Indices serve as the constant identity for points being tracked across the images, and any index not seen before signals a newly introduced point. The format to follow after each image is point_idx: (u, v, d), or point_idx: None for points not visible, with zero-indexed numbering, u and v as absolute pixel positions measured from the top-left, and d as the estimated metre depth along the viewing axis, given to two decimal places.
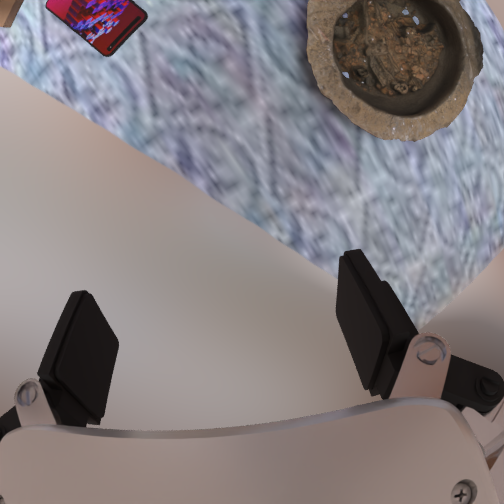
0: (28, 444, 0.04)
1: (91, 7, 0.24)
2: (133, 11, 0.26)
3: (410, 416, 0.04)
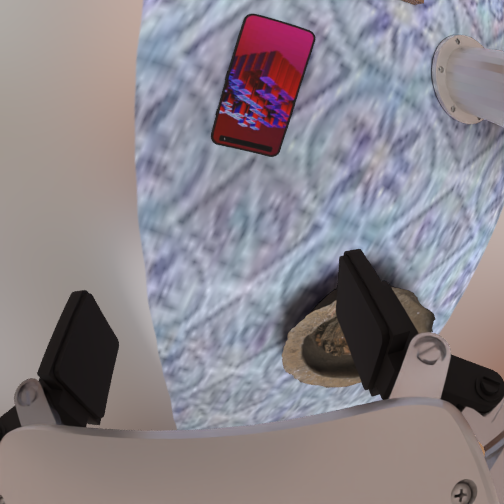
0: (28, 444, 0.04)
1: (263, 84, 0.28)
2: (274, 139, 0.31)
3: (410, 416, 0.04)
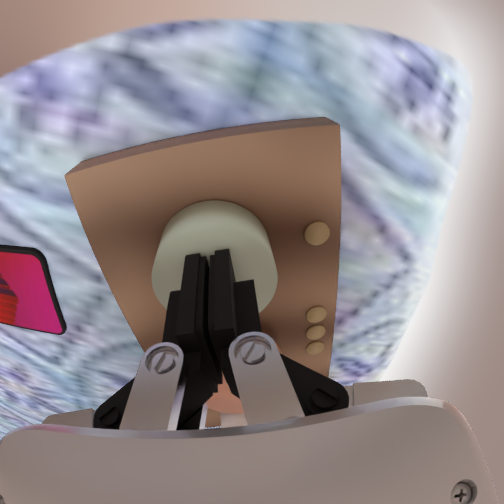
0: (29, 444, 0.04)
1: None
2: None
3: (410, 416, 0.04)
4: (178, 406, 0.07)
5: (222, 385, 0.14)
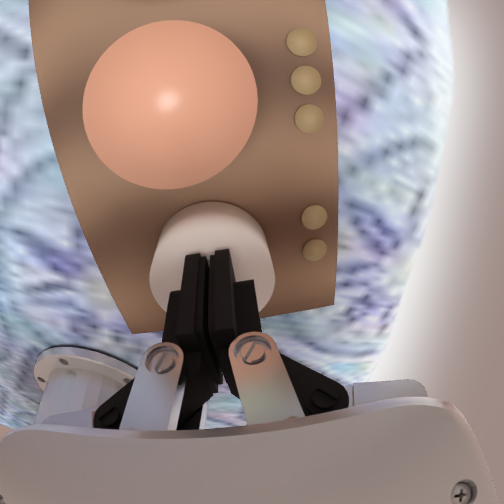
0: (29, 444, 0.04)
1: None
2: None
3: (410, 416, 0.04)
4: (178, 406, 0.07)
5: (129, 75, 0.07)
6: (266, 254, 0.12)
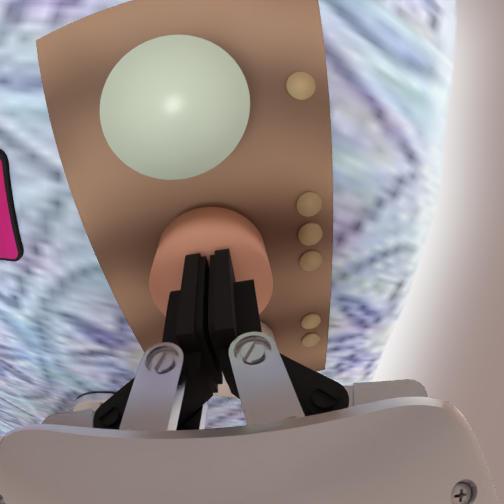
0: (28, 444, 0.04)
1: None
2: None
3: (410, 416, 0.04)
4: (178, 406, 0.07)
5: None
6: None
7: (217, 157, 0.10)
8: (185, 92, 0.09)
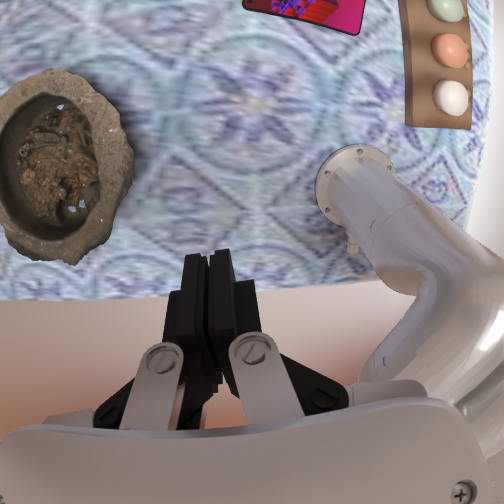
0: (28, 444, 0.04)
1: None
2: (260, 4, 0.27)
3: (410, 416, 0.04)
4: (178, 406, 0.07)
5: (450, 42, 0.26)
6: None
7: (458, 19, 0.23)
8: (453, 3, 0.22)
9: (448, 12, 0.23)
